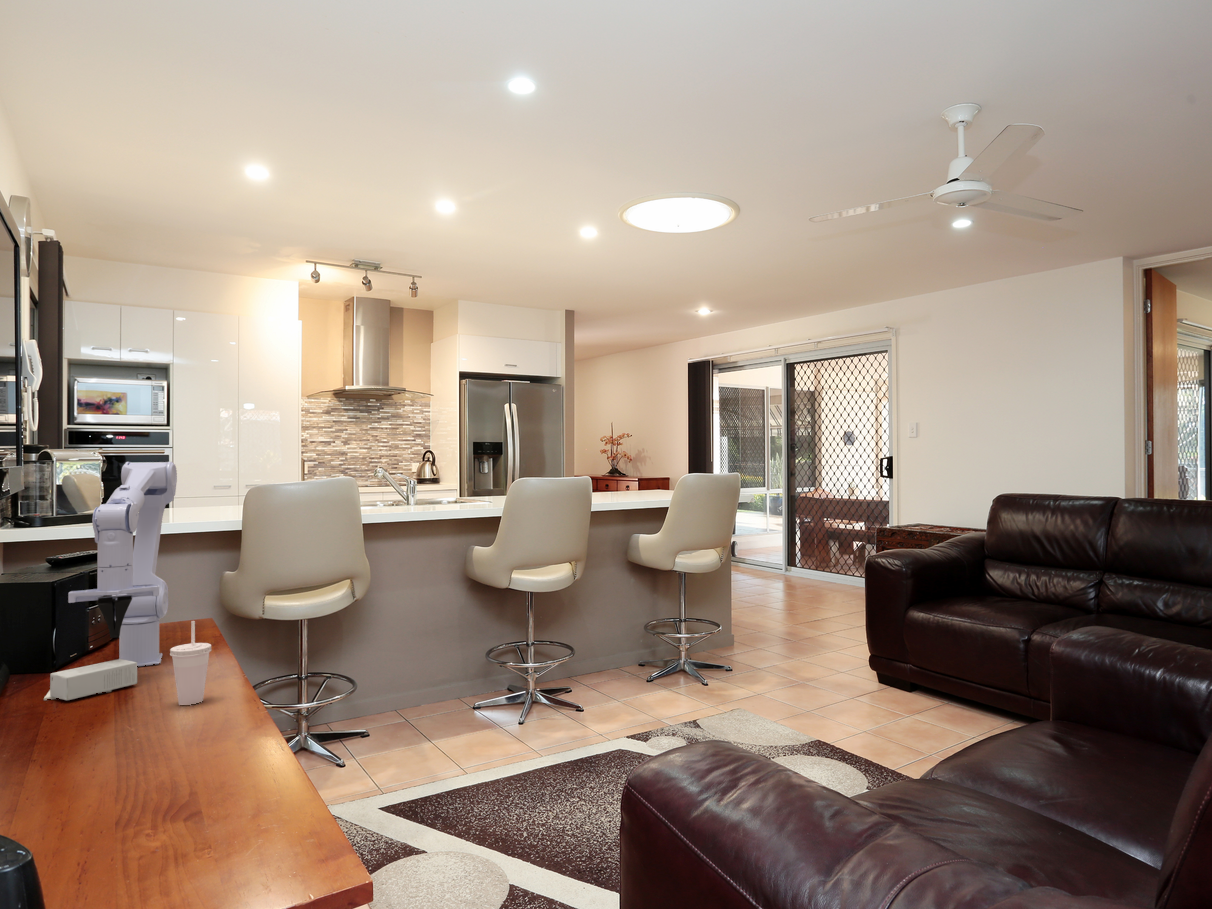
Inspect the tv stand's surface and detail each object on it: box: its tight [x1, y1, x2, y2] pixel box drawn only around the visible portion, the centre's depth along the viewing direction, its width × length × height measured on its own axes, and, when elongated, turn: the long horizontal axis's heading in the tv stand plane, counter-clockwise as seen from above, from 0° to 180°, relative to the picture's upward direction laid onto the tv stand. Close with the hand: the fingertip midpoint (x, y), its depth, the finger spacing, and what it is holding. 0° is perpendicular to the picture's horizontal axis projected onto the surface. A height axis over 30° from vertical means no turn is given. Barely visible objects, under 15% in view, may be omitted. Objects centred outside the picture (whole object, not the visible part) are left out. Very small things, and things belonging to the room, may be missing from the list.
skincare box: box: [49, 658, 138, 702], centre depth 136 cm, size 6×4×12 cm
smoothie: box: [169, 620, 213, 706], centre depth 129 cm, size 6×6×14 cm
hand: (115, 636), depth 142 cm, fingers closed
